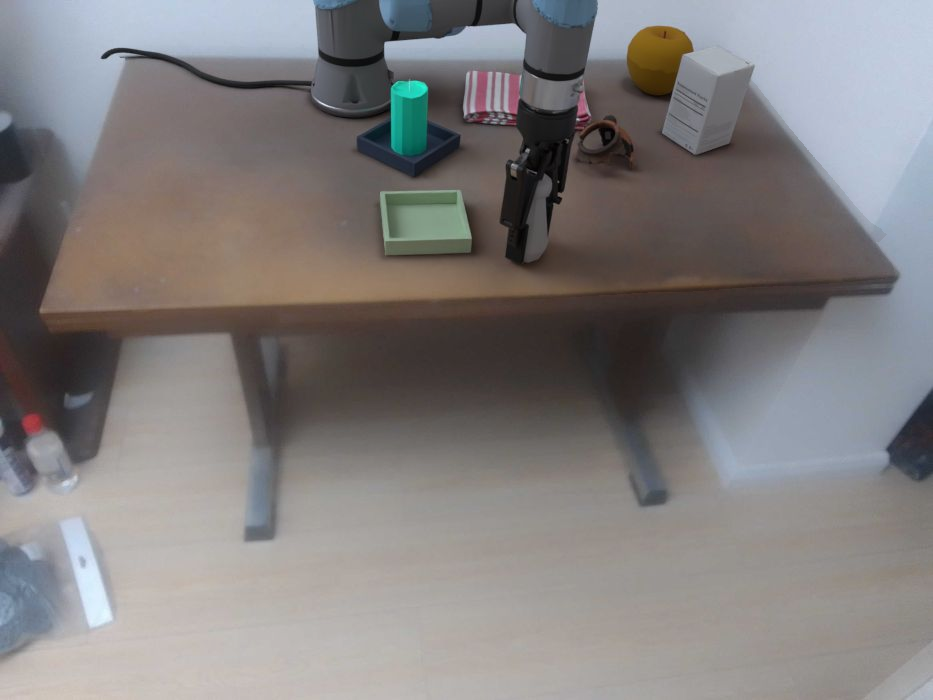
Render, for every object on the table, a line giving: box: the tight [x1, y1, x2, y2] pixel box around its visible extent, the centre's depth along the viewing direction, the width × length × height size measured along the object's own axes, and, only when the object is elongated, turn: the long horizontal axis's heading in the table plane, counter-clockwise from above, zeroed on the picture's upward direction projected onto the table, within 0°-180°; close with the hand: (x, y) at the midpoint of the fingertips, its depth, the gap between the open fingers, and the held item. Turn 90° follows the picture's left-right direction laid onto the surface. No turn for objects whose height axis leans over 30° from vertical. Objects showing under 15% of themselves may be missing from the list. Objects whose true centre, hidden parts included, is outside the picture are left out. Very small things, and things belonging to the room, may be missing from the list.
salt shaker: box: [523, 172, 552, 264], centre depth 107 cm, size 6×6×13 cm
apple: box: [626, 25, 695, 96], centre depth 149 cm, size 13×13×11 cm
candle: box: [390, 78, 429, 156], centre depth 125 cm, size 6×6×12 cm
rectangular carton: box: [661, 44, 756, 156], centre depth 134 cm, size 9×9×15 cm
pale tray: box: [379, 189, 473, 256], centre depth 114 cm, size 12×12×3 cm
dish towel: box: [462, 69, 592, 131], centre depth 143 cm, size 17×23×4 cm
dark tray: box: [356, 117, 462, 178], centre depth 129 cm, size 12×12×3 cm
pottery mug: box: [576, 114, 635, 171], centre depth 130 cm, size 12×10×8 cm
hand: (526, 249), depth 111 cm, fingers closed on salt shaker, 6 cm apart
